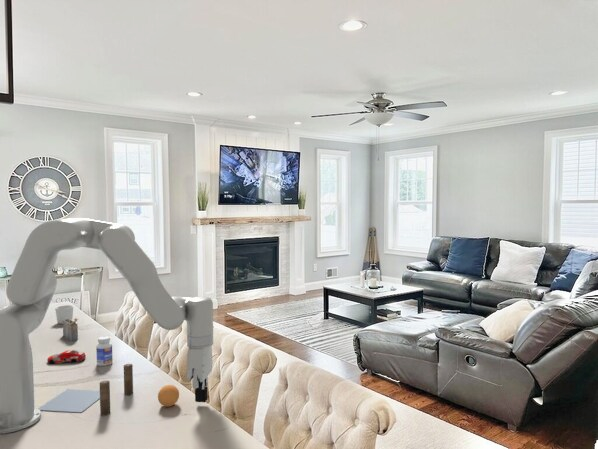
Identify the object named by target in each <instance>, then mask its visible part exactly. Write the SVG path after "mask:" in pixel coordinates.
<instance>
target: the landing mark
mask: <svg viewBox="0 0 598 449" xmlns="http://www.w3.org/2000/svg"><path fill="white" fill-rule="evenodd" d="M97 401H100V390H95V389H94V390H92V389H91V390H90V389H76V388H75V389H70V388H67V389H65V390H63V392H61V393H60V394H58V395H56V396H55V397H53V398H52V399H50V400H49V401H47V402H45V403H44V404H42V406H40V407H38V408H37V409H39V410H40V411H41V412H59V413H60V412H61V413H74V414H75V413H77V414H78V413H79V414H82V413H83V412H85V411H87V409H88V408H90V407H91V406H92V405H94V404H95V403H96V402H97Z"/></svg>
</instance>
